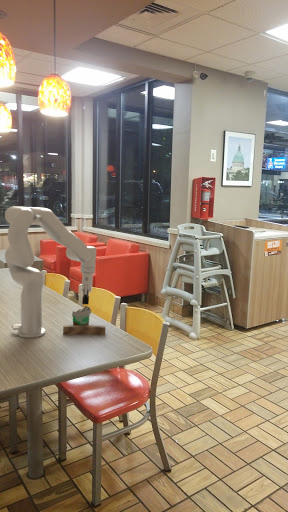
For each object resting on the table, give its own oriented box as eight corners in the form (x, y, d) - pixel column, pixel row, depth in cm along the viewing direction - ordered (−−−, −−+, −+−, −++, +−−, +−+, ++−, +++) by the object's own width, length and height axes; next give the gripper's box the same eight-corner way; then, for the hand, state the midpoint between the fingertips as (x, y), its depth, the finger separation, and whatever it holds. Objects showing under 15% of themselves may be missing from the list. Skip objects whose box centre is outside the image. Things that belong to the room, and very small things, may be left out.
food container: (82, 333, 189) (82, 313, 188) (71, 331, 192) (71, 311, 190) (95, 326, 200) (95, 307, 199) (85, 324, 203) (85, 305, 201)
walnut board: (63, 334, 187) (63, 326, 186) (63, 332, 189) (63, 325, 188) (105, 335, 188) (105, 327, 188) (105, 333, 191) (105, 325, 190)
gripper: (94, 272, 198) (91, 308, 200) (95, 268, 213) (93, 301, 215) (79, 271, 197) (77, 307, 199) (81, 267, 212) (79, 300, 214)
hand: (85, 303), depth 207 cm, fingers closed
